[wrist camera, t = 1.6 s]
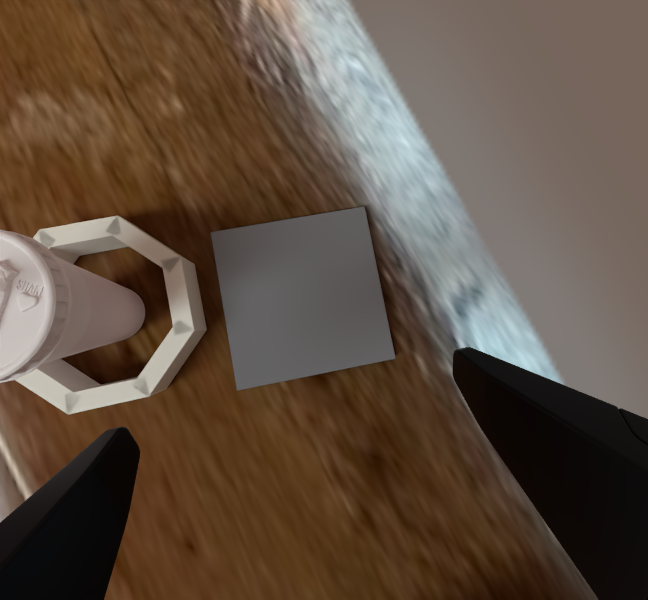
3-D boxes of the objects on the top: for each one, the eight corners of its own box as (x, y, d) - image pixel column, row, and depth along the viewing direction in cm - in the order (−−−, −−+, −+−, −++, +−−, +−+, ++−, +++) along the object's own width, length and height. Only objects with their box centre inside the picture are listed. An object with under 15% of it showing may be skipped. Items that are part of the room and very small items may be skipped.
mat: (393, 357, 23) (395, 358, 22) (239, 388, 22) (237, 390, 21) (363, 209, 23) (364, 206, 23) (213, 234, 23) (210, 232, 22)
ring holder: (137, 431, 21) (115, 445, 19) (-6, 338, 21) (-47, 340, 19) (234, 289, 22) (225, 285, 20) (98, 201, 22) (72, 185, 20)
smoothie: (48, 318, 22) (-419, 304, 8) (116, 249, 22) (-204, 121, 8) (118, 380, 22) (-226, 481, 8) (184, 309, 22) (-23, 282, 8)
